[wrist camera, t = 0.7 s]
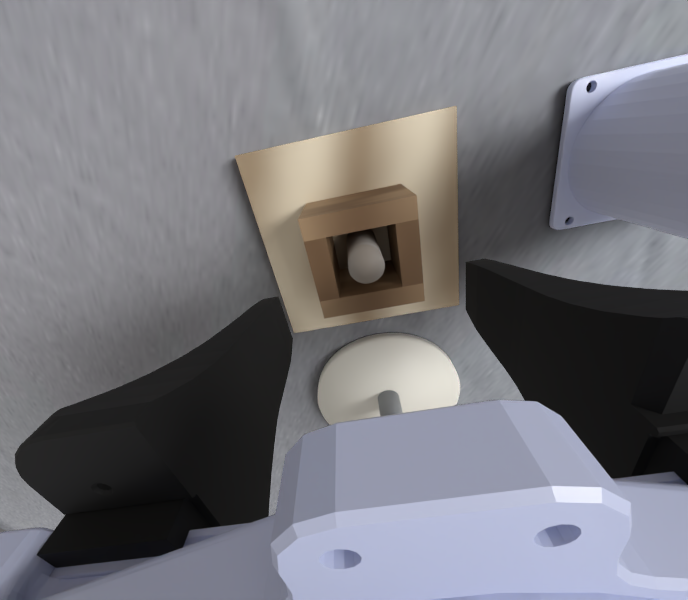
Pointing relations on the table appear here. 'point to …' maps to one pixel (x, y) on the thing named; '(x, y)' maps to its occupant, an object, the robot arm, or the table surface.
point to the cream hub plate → (386, 378)
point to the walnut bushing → (355, 215)
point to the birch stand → (353, 177)
